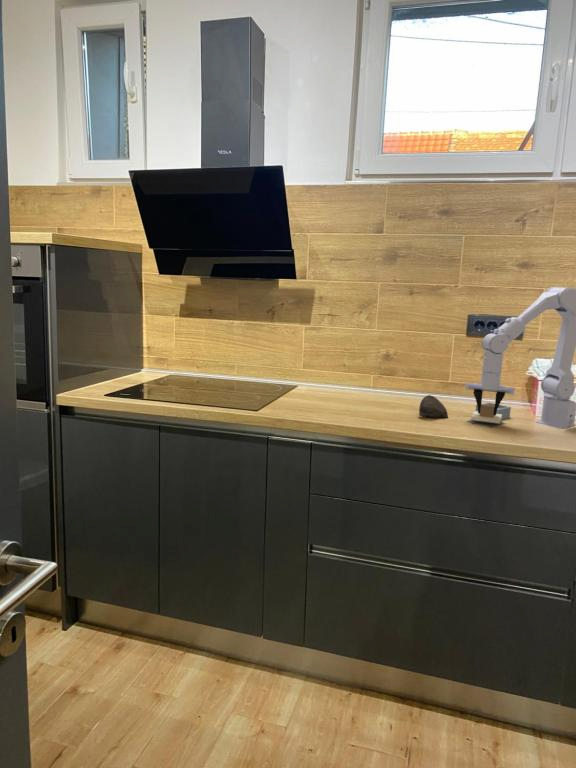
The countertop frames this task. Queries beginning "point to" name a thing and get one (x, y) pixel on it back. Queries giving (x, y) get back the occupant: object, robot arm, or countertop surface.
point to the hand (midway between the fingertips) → (487, 413)
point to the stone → (432, 408)
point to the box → (500, 410)
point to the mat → (486, 423)
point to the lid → (487, 414)
